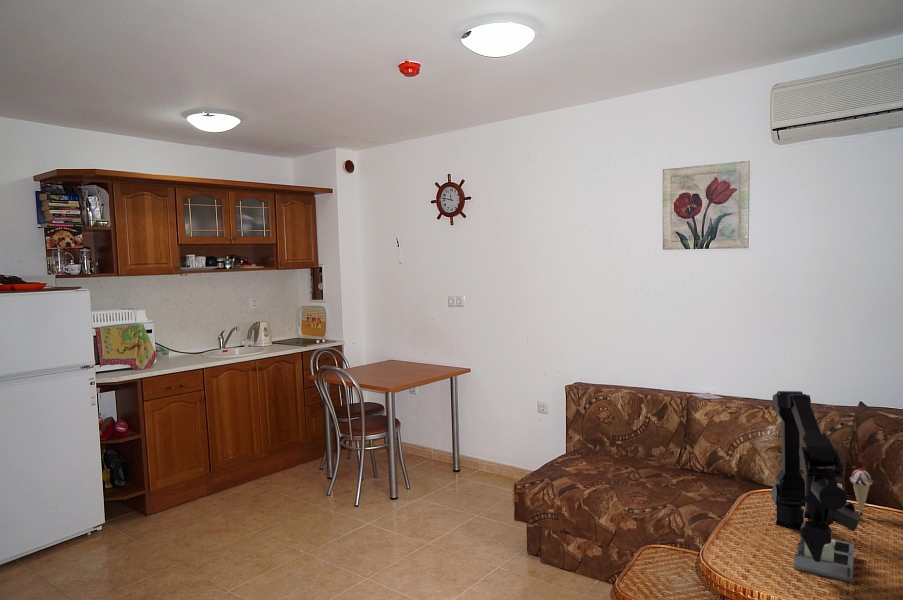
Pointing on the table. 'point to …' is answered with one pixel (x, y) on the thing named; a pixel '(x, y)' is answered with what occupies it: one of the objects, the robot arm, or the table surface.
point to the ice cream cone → (861, 486)
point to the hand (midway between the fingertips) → (818, 553)
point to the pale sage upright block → (823, 552)
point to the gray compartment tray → (836, 569)
